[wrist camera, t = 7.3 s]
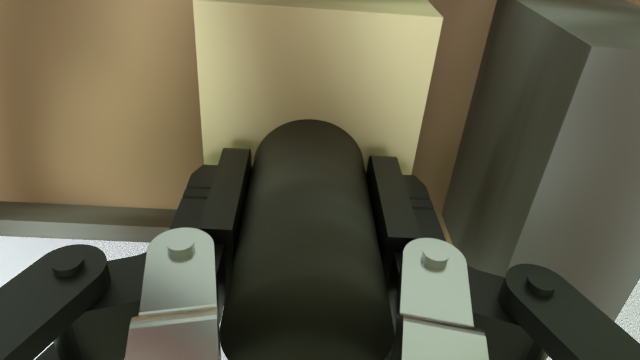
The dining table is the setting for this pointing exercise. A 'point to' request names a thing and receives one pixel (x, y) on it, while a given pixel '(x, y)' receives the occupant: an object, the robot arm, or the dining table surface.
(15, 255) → the dining table surface
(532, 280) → the robot arm
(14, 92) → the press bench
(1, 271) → the dining table surface
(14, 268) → the dining table surface
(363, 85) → the block
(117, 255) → the dining table surface
